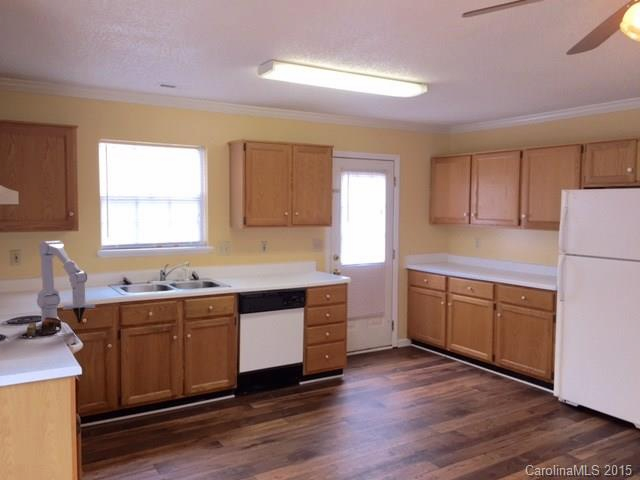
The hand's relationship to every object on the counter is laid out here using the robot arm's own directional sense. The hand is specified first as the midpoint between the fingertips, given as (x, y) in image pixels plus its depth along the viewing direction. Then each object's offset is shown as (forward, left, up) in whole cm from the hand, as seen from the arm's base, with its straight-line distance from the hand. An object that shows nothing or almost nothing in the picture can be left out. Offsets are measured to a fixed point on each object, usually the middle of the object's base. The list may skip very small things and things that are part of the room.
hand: (79, 322), depth 266 cm
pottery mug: (0, -13, -4) cm, 13 cm away
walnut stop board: (0, -21, -3) cm, 22 cm away
